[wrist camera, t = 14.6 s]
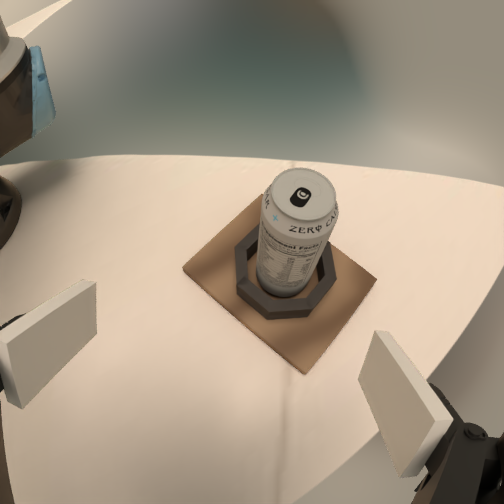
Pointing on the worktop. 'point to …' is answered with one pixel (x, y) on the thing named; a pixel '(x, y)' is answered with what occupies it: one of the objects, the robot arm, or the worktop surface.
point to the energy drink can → (294, 229)
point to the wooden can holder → (274, 307)
